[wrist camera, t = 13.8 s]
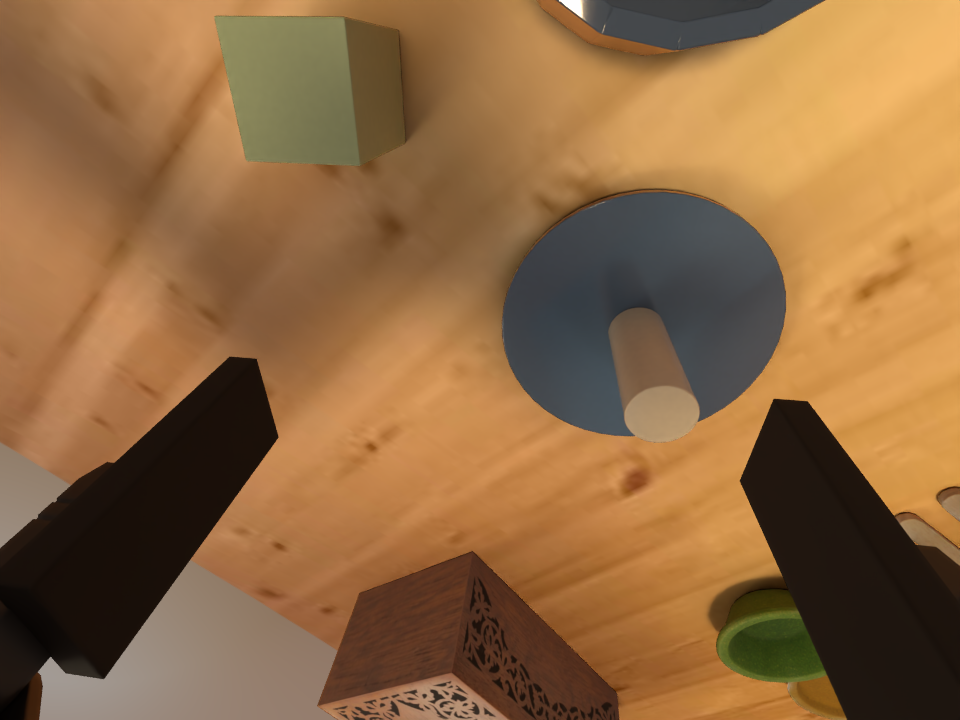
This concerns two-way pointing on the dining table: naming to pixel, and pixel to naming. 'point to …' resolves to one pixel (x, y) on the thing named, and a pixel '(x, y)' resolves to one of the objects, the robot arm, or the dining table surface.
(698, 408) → the bowl lid
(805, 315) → the dining table surface
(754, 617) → the tableware set
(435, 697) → the tissue box cover
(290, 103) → the block
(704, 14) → the bowl
